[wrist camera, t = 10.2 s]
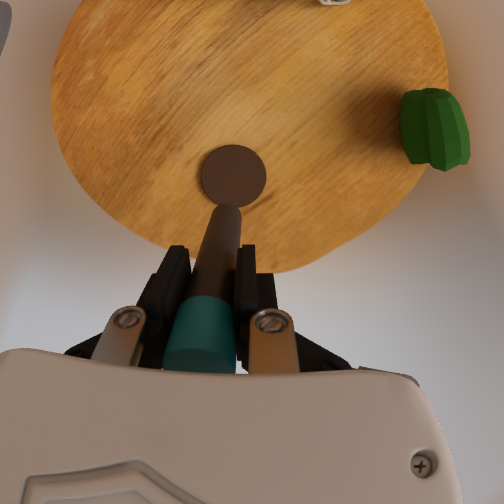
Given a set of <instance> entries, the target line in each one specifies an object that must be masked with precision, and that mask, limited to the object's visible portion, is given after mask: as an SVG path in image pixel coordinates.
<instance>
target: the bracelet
mask: <svg viewBox="0 0 504 504" xmlns="http://www.w3.org/2000/svg"><path fill="white" fill-rule="evenodd" d="M350 1H351V0H343V1H340V2H331V0H318V2H319V3H321V5H344V4H347V3H348V2H350Z"/></svg>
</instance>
